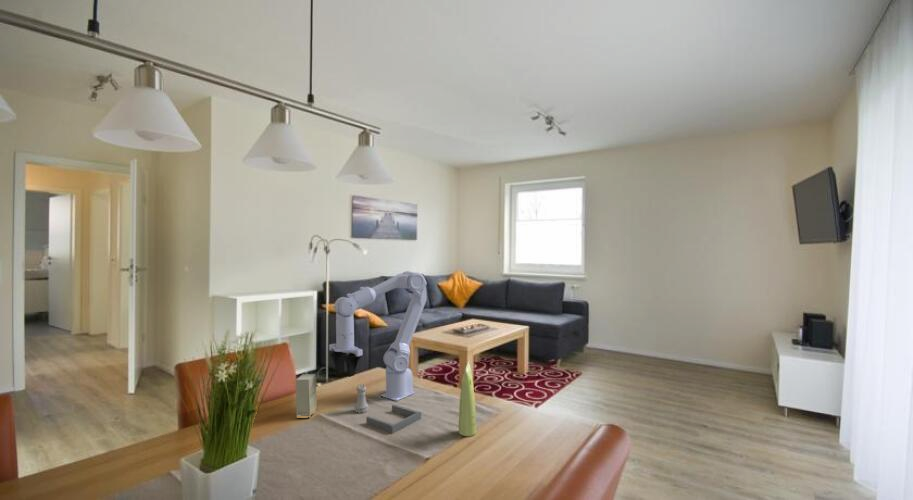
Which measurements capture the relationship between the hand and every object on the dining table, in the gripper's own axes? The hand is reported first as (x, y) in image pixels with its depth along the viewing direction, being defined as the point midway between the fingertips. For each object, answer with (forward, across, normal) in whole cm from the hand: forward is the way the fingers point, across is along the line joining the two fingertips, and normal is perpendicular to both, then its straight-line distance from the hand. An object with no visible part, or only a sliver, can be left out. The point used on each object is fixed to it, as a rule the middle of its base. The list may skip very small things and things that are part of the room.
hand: (345, 374), depth 139 cm
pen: (+10, +22, 0) cm, 24 cm away
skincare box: (+11, -4, -12) cm, 17 cm away
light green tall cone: (+11, +44, +6) cm, 46 cm away
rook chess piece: (+11, +8, 0) cm, 13 cm away
